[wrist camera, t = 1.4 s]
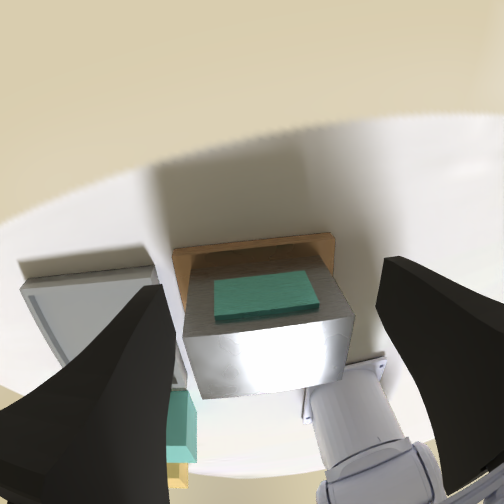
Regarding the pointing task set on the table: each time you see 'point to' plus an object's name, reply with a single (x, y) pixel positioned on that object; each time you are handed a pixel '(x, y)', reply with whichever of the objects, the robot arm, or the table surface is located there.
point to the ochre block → (177, 475)
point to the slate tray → (86, 308)
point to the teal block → (181, 429)
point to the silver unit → (263, 315)
